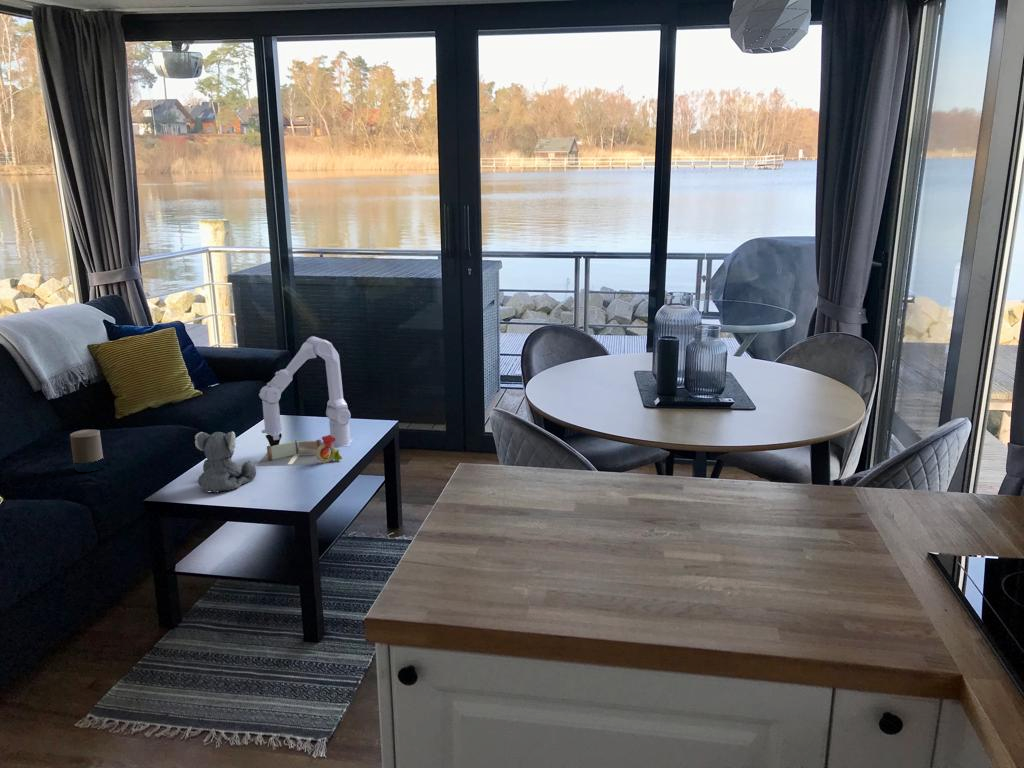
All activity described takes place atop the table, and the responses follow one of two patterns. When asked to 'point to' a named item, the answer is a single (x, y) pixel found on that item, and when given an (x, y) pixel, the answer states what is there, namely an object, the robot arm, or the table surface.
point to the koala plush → (222, 463)
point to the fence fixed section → (308, 447)
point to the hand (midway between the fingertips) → (275, 452)
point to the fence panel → (282, 450)
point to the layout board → (290, 460)
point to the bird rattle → (324, 453)
